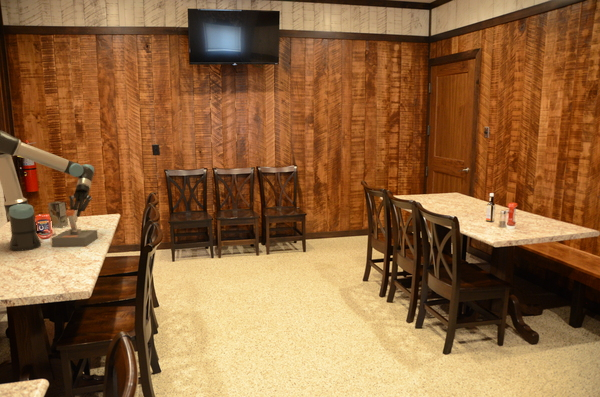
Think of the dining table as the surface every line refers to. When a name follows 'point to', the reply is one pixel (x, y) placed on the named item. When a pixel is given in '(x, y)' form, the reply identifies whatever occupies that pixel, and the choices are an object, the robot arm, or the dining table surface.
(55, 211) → the coffee box
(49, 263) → the dining table surface
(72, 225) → the lever
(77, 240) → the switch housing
